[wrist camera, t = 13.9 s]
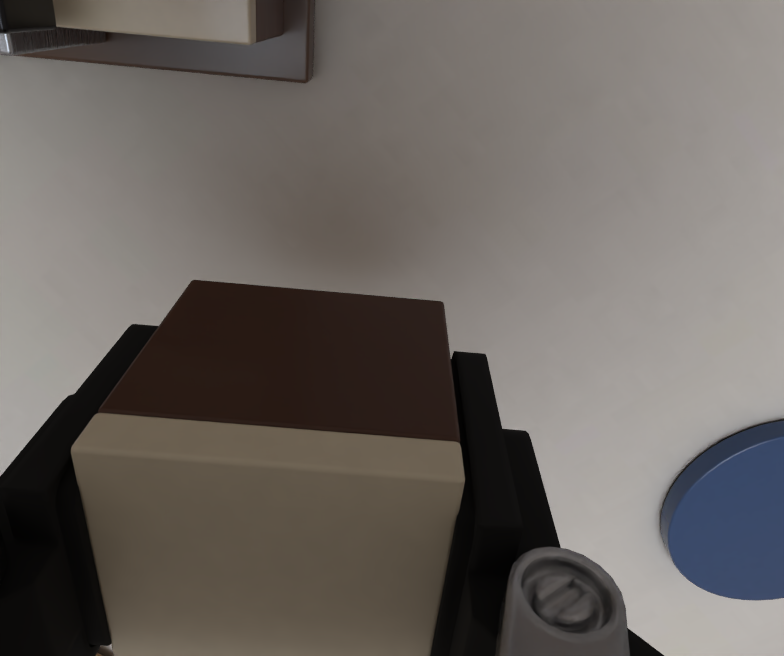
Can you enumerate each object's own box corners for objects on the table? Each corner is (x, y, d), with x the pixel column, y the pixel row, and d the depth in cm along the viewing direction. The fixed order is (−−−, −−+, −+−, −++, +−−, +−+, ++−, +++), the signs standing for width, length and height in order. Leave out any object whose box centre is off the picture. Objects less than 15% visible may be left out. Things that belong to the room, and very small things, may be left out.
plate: (700, 408, 20) (710, 422, 20) (935, 427, 21) (954, 442, 20) (634, 575, 24) (641, 593, 23) (834, 590, 24) (847, 608, 24)
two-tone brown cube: (191, 277, 11) (66, 448, 7) (444, 299, 11) (466, 479, 7) (205, 456, 13) (114, 669, 9) (419, 473, 13) (425, 691, 9)
